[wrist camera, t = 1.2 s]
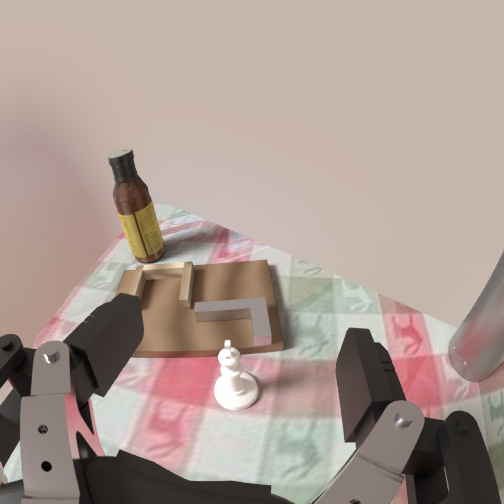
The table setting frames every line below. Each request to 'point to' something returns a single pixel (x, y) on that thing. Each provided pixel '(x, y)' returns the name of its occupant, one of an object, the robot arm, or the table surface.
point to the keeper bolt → (238, 315)
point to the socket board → (183, 301)
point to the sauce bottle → (135, 208)
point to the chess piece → (234, 381)
